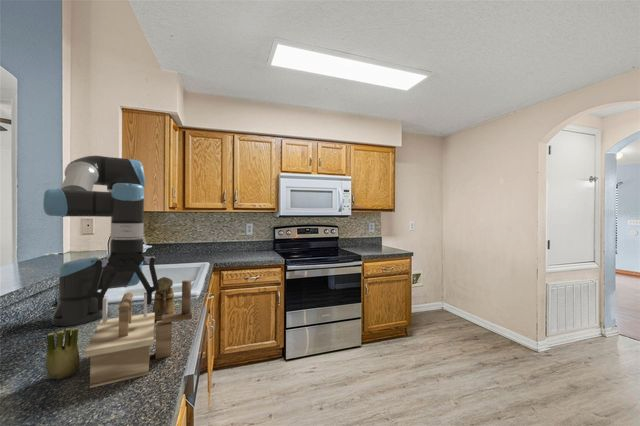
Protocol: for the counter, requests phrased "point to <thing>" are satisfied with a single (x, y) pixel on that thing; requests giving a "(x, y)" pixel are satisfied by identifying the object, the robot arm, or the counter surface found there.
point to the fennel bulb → (62, 354)
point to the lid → (122, 331)
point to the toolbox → (129, 359)
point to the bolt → (186, 305)
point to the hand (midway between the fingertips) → (125, 318)
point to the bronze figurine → (163, 299)
